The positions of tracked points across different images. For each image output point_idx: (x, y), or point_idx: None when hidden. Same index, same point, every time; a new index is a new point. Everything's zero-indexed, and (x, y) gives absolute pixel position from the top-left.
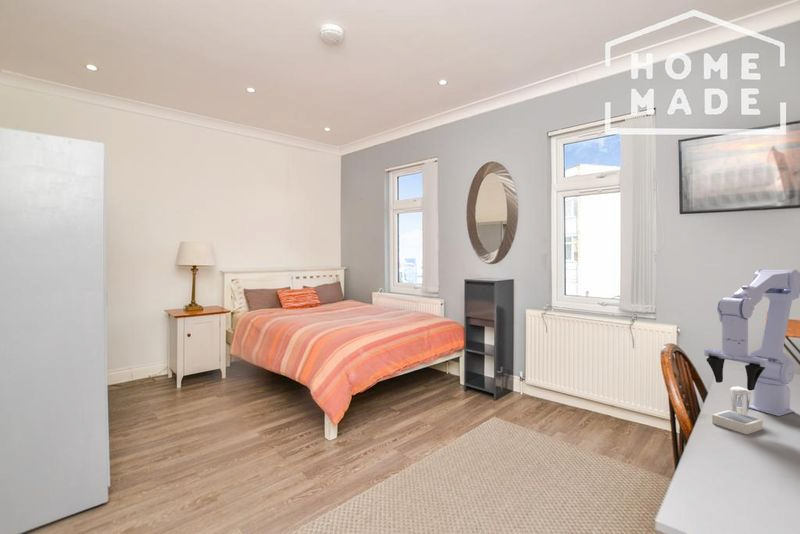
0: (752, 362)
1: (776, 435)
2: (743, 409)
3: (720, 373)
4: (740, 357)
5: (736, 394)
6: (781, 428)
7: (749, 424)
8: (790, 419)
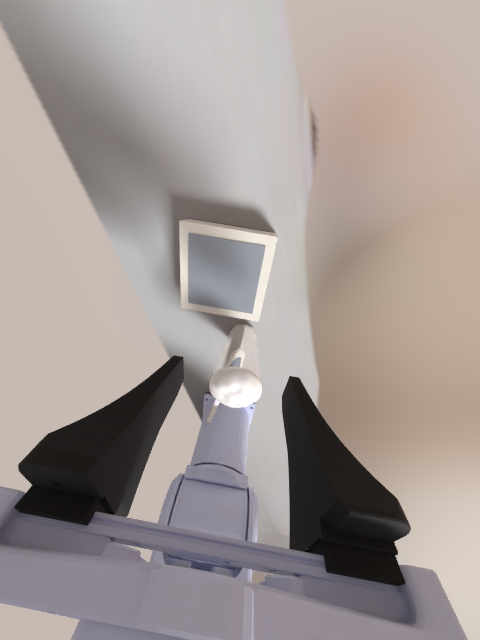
0: (73, 531)
1: (158, 281)
2: (229, 340)
3: (291, 426)
4: (79, 602)
5: (238, 363)
6: (175, 334)
7: (179, 237)
8: (190, 391)
